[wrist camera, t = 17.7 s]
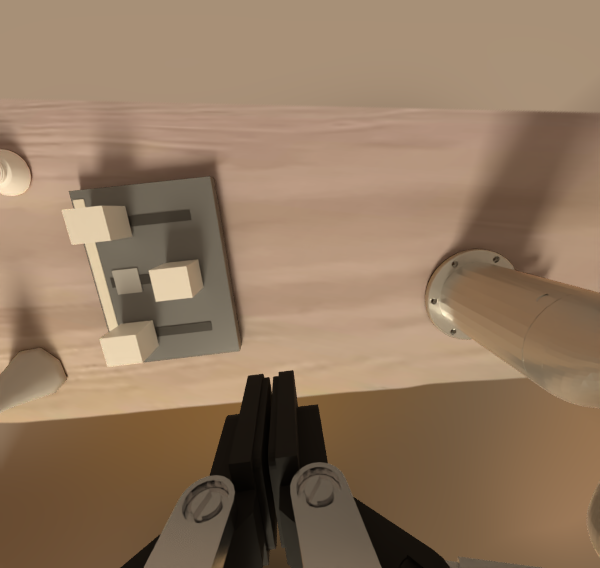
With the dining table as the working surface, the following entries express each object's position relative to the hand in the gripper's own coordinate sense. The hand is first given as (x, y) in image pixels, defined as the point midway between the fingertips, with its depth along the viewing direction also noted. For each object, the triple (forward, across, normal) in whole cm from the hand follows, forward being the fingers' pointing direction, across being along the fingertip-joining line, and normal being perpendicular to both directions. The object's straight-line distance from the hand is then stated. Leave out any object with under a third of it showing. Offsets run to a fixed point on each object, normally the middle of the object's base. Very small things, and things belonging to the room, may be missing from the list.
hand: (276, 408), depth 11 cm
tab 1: (+27, +19, -8) cm, 34 cm away
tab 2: (+27, +12, 0) cm, 30 cm away
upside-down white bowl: (+30, +30, -14) cm, 45 cm away
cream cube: (+27, +19, +6) cm, 34 cm away
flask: (+29, +35, +11) cm, 47 cm away
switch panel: (+29, +15, 0) cm, 33 cm away
